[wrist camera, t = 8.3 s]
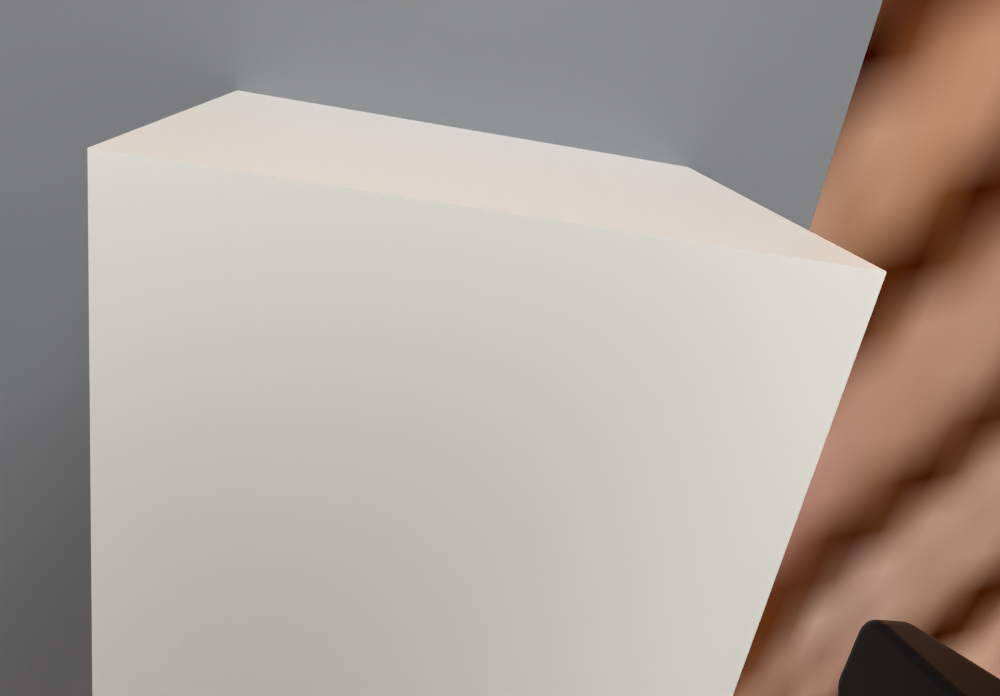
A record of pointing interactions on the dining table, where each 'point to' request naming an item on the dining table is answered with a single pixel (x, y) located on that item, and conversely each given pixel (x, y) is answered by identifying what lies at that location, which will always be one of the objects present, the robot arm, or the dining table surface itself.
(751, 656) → the dining table surface
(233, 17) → the base plate
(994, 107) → the dining table surface
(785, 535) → the white rectangular block
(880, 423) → the dining table surface
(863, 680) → the robot arm
